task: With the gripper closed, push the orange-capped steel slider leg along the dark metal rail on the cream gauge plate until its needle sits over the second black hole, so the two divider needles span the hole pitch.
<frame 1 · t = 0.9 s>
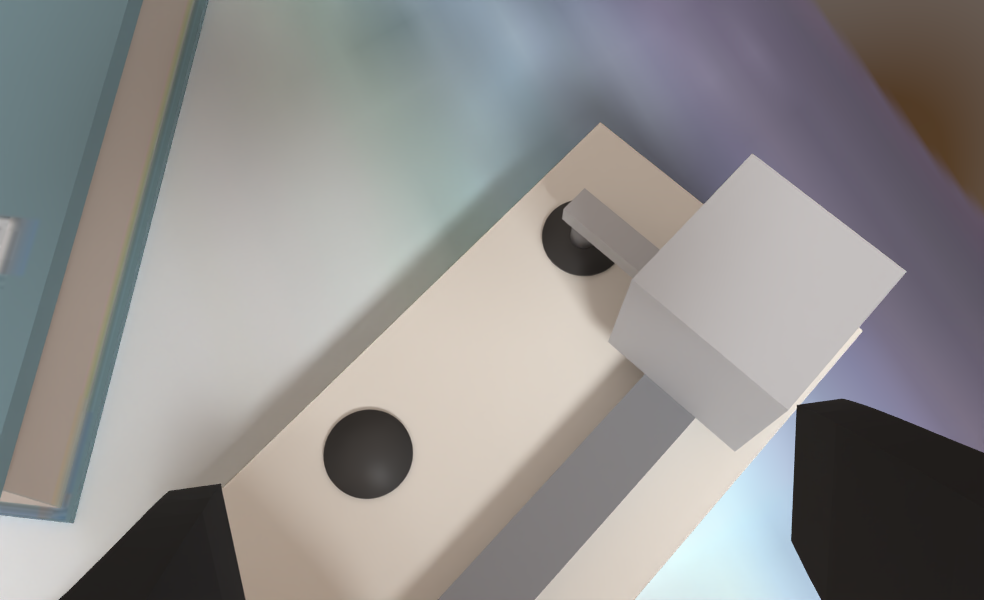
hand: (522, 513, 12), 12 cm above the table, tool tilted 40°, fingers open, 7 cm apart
pitch plate: (443, 530, 24), on the table
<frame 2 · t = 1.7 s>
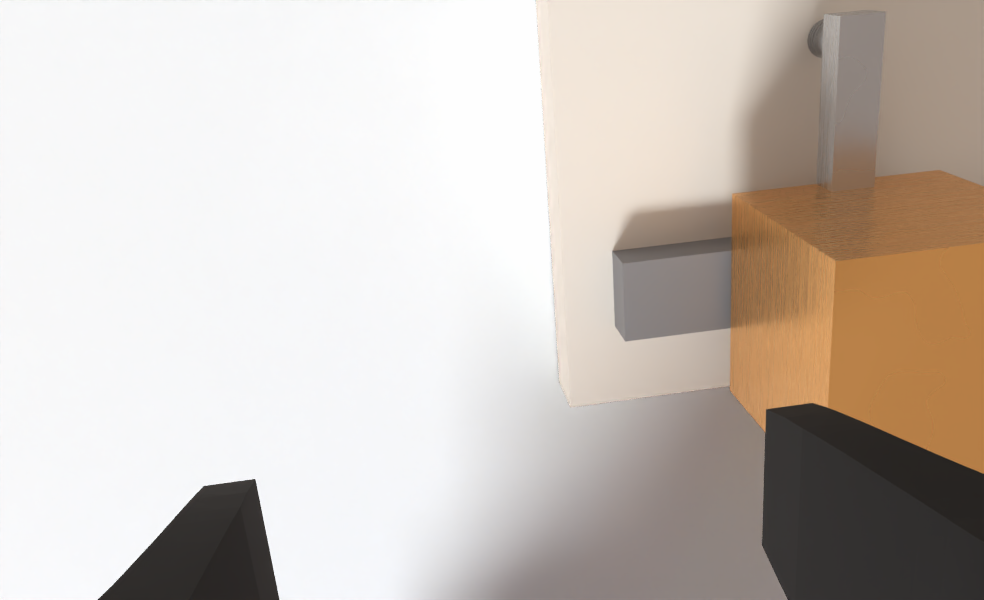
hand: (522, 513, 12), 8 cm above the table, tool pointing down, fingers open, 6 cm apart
slider leg: (881, 232, 16), point 4 cm above the table, slide at 0.0 cm
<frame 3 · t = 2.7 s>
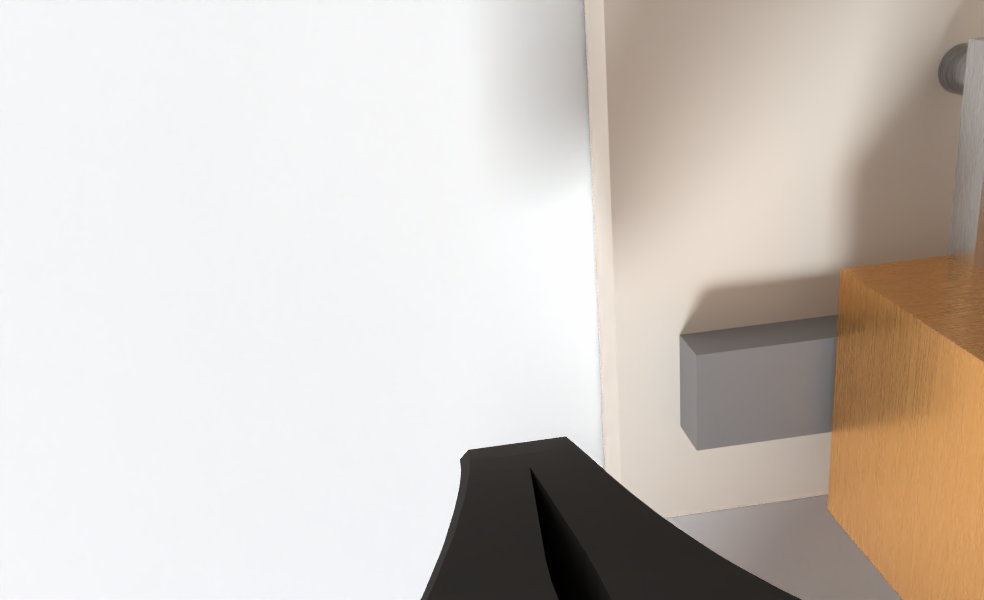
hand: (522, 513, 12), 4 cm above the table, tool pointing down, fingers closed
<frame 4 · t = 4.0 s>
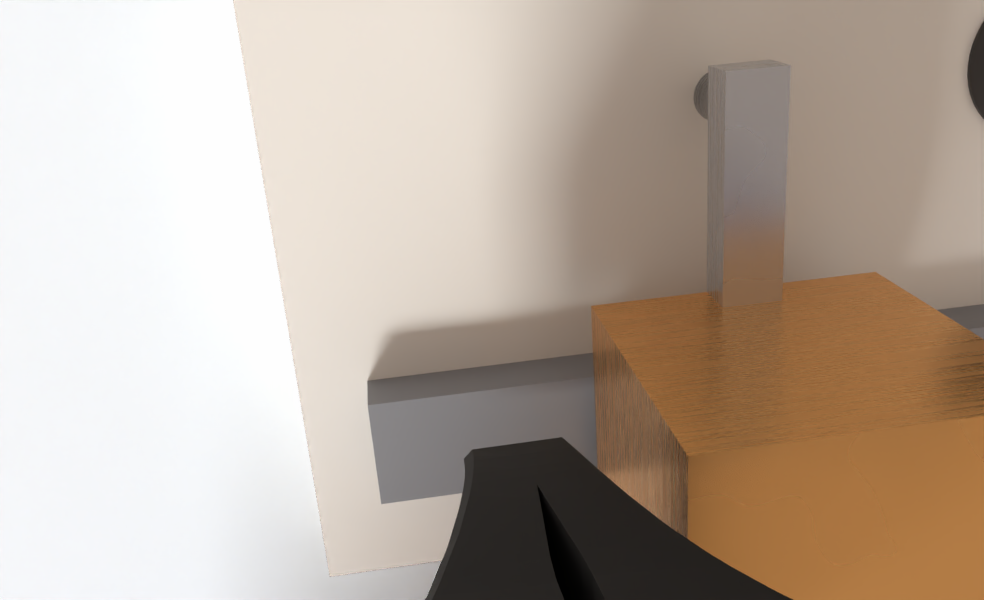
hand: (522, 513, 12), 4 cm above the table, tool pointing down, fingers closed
pitch plate: (970, 207, 15), on the table
slider leg: (785, 372, 11), point 4 cm above the table, slide at 1.1 cm, touching gripper
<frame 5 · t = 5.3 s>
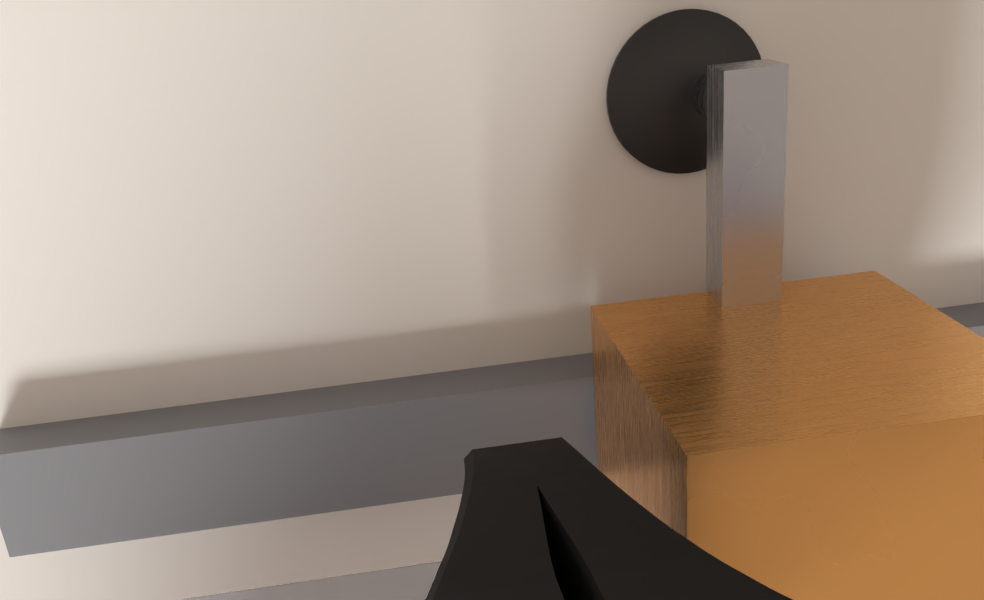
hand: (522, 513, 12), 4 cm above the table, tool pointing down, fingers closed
pitch plate: (661, 241, 15), on the table
slider leg: (784, 372, 11), point 4 cm above the table, slide at 6.3 cm, touching gripper
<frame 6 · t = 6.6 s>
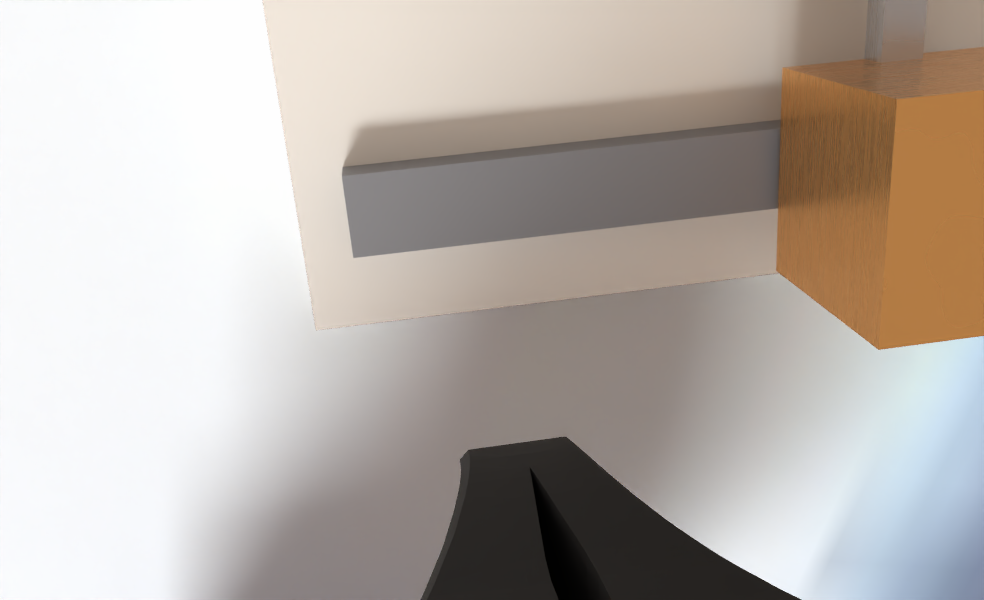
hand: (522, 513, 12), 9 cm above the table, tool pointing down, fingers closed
pitch plate: (813, 46, 20), on the table
slider leg: (932, 96, 16), point 4 cm above the table, slide at 6.3 cm
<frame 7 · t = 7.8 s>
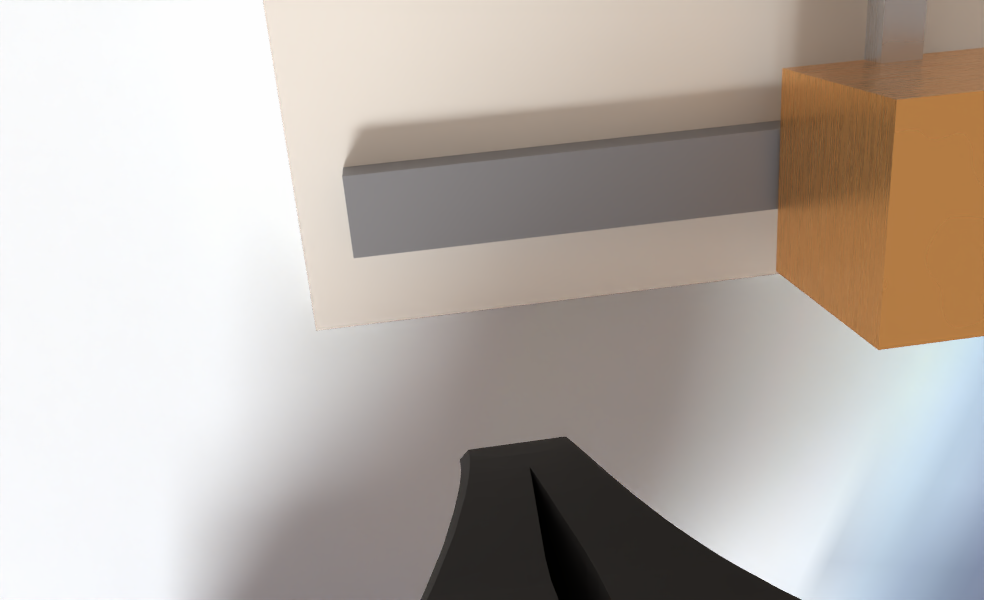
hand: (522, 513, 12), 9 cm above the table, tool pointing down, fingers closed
pitch plate: (813, 47, 20), on the table
slider leg: (932, 97, 16), point 4 cm above the table, slide at 6.3 cm
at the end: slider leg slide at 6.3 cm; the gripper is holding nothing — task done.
